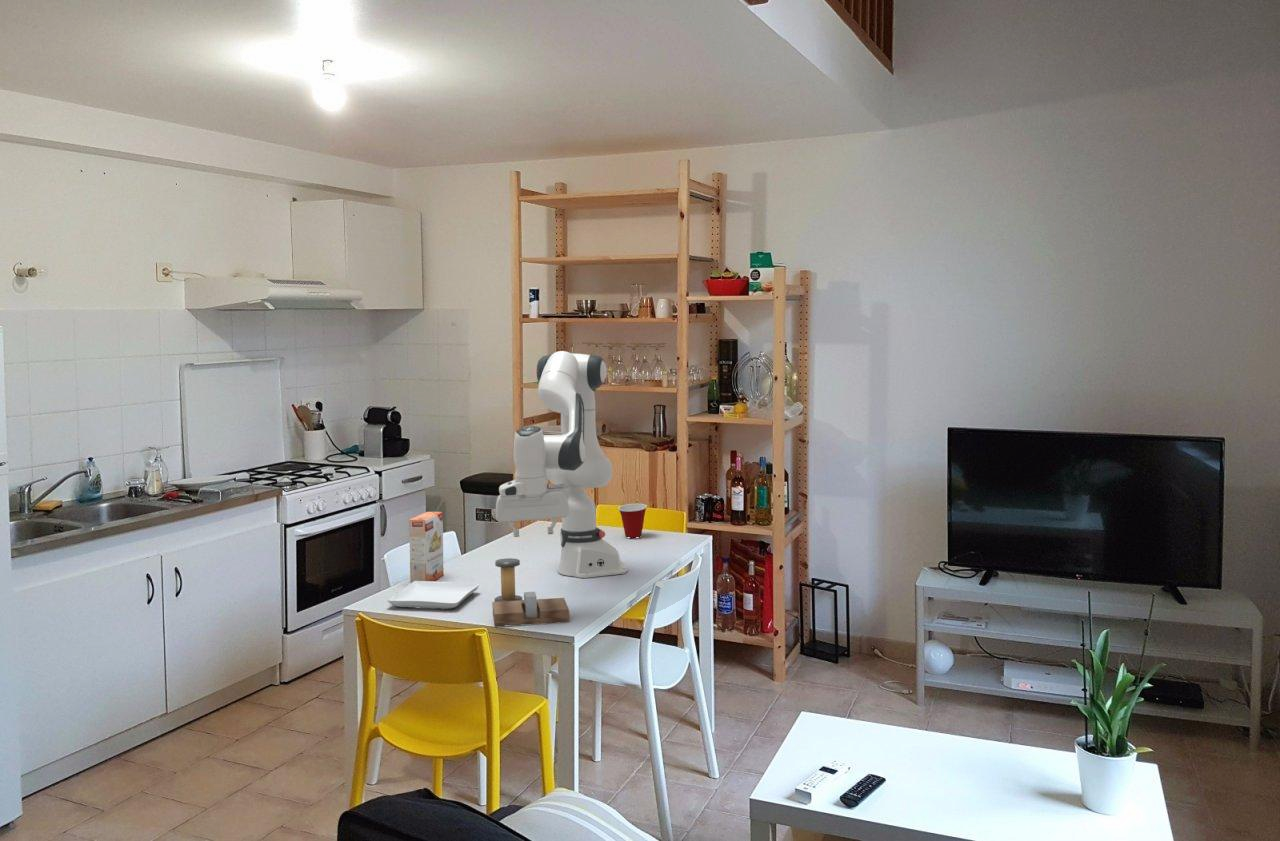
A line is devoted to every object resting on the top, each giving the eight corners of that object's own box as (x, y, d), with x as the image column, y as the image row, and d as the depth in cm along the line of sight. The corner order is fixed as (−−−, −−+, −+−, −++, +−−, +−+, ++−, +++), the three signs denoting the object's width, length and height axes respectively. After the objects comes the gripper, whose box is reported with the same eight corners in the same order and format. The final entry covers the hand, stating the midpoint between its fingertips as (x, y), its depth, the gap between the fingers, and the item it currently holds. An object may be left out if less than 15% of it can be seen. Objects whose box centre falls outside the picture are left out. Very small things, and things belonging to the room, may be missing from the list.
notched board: (564, 609, 292) (563, 597, 291) (569, 621, 280) (568, 609, 280) (492, 614, 288) (492, 602, 288) (494, 626, 276) (494, 614, 276)
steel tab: (535, 612, 286) (534, 591, 285) (537, 617, 281) (536, 596, 280) (524, 613, 285) (524, 592, 285) (525, 618, 280) (525, 596, 280)
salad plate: (457, 613, 291) (456, 601, 290) (385, 610, 294) (385, 599, 294) (481, 593, 311) (481, 582, 311) (414, 591, 315) (414, 580, 315)
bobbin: (521, 599, 303) (520, 557, 302) (523, 606, 296) (522, 563, 294) (494, 600, 302) (492, 558, 301) (495, 608, 294) (494, 565, 293)
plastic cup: (612, 537, 387) (611, 506, 386) (633, 533, 394) (633, 502, 393) (631, 542, 379) (631, 509, 378) (653, 537, 386) (652, 505, 385)
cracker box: (428, 586, 319) (425, 519, 317) (409, 585, 321) (407, 519, 318) (445, 575, 333) (443, 511, 331) (427, 574, 334) (425, 510, 332)
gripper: (567, 481, 289) (569, 529, 291) (493, 486, 285) (496, 535, 287) (570, 485, 283) (572, 534, 285) (495, 490, 279) (497, 540, 281)
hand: (533, 535), depth 286 cm, fingers open, 8 cm apart
